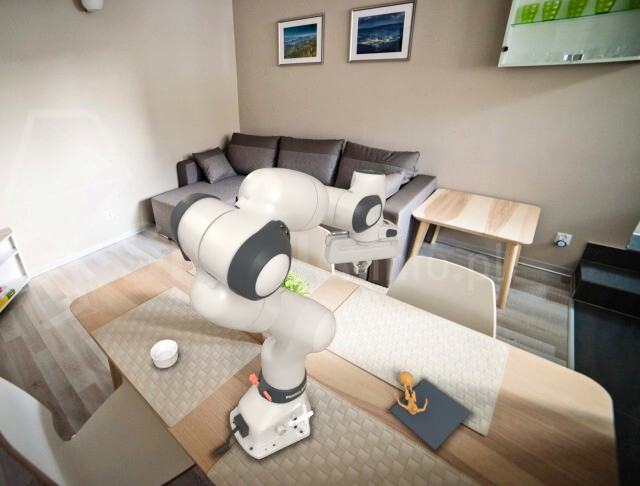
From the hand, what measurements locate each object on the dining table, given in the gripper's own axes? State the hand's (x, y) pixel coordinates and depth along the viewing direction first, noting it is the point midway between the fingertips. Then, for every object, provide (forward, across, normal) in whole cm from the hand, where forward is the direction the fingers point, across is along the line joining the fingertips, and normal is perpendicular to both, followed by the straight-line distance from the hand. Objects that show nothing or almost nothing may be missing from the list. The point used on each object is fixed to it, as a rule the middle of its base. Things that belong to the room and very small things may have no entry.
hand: (360, 272), depth 92 cm
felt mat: (+31, +12, -22) cm, 40 cm away
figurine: (+30, +11, -11) cm, 34 cm away
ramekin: (+31, -61, +6) cm, 69 cm away
